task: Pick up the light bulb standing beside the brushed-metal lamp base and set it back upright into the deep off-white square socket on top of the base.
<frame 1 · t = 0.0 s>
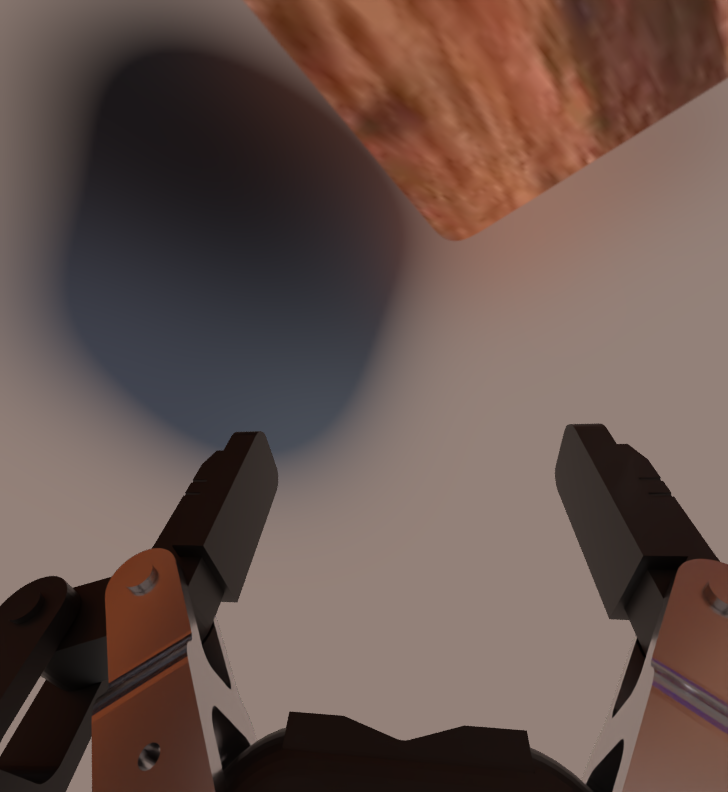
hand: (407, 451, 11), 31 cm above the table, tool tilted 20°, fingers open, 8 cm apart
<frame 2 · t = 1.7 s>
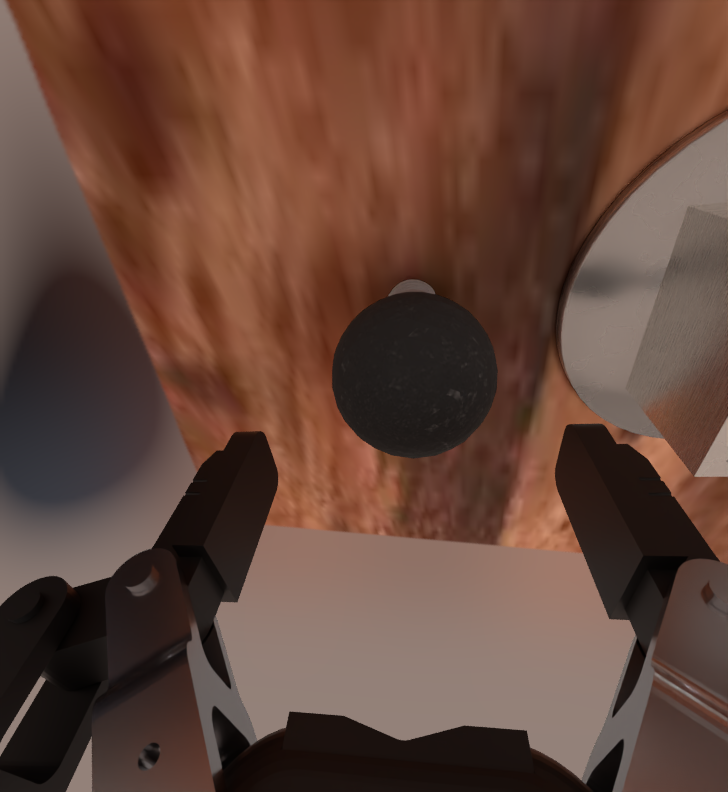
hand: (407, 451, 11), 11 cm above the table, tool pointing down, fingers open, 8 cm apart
light bulb: (412, 295, 19), on the table
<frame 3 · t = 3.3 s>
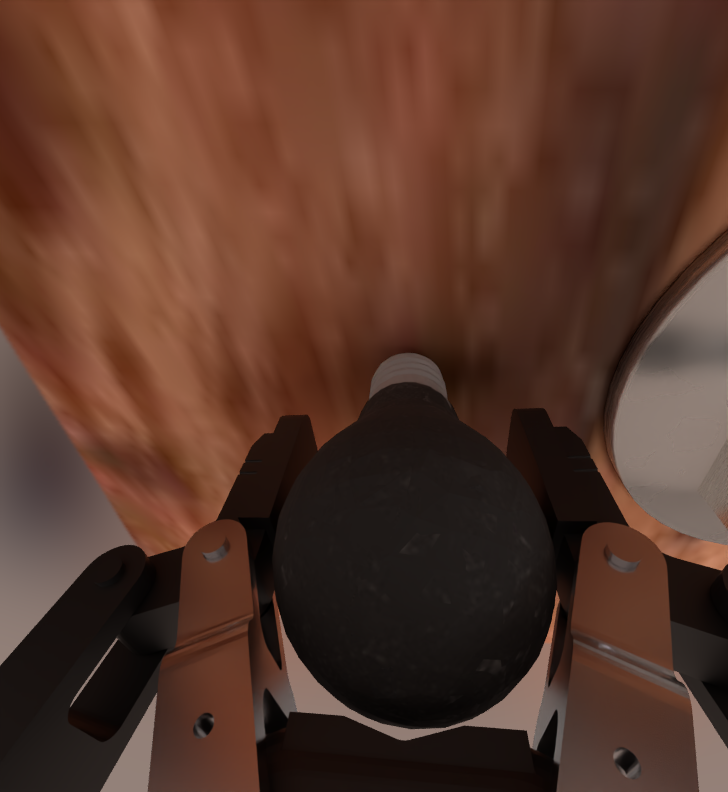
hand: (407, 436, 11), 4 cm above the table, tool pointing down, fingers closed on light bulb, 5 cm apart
light bulb: (407, 368, 14), on the table, touching gripper
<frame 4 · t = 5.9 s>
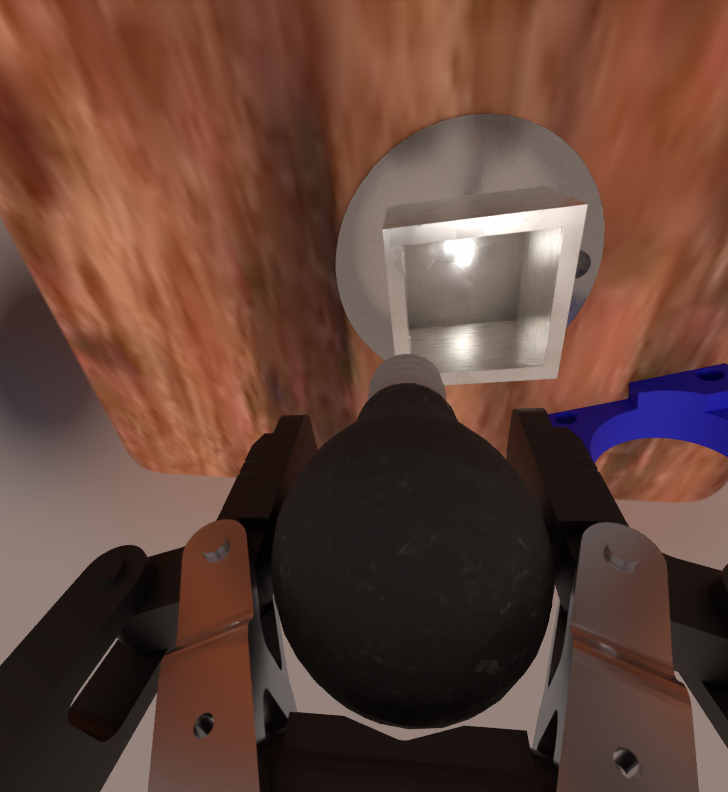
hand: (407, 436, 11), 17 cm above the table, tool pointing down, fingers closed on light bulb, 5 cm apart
cable clip: (626, 403, 30), on the table
light bulb: (406, 369, 14), point 13 cm above the table, touching gripper
lamp base: (461, 268, 25), on the table
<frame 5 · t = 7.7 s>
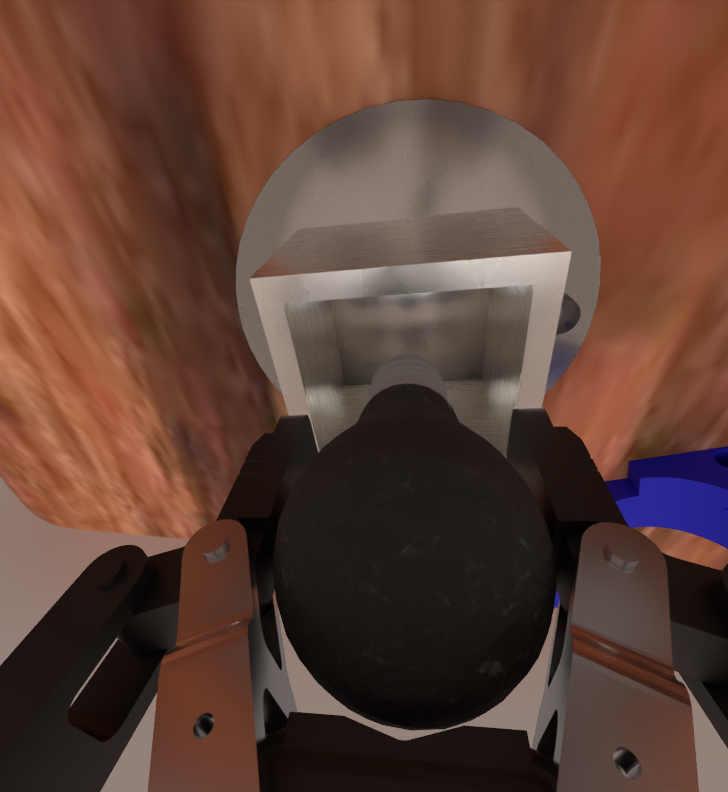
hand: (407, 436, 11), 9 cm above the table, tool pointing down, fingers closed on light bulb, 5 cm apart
cable clip: (625, 482, 24), on the table
light bulb: (407, 369, 14), point 5 cm above the table, touching gripper
lamp base: (408, 310, 18), on the table
when the fingers open (8 cm above the table, at t = 8.8 s): light bulb drops 4 cm, resting on lamp base.
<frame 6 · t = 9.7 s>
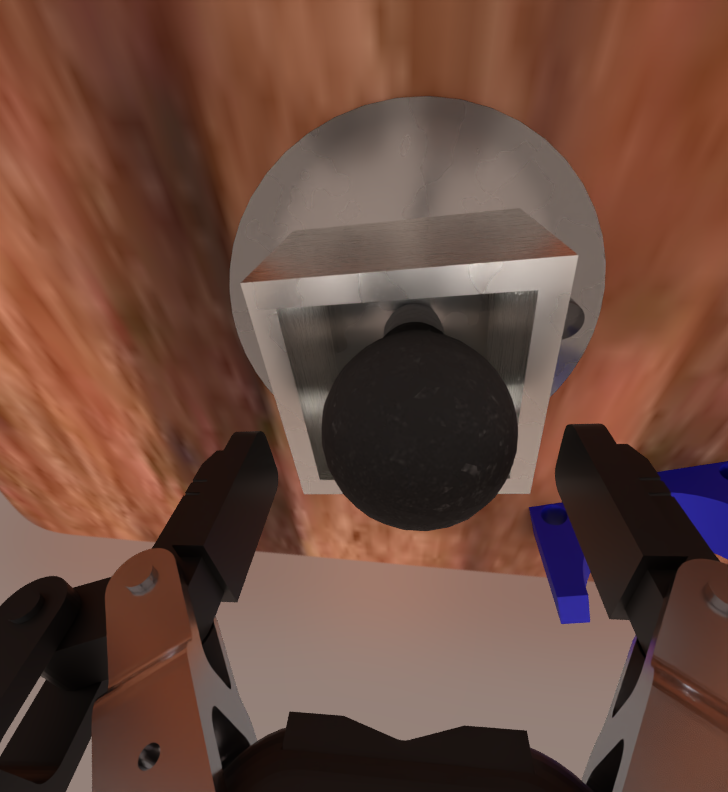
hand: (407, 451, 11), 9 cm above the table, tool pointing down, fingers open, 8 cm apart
cable clip: (629, 495, 24), on the table
light bulb: (413, 319, 17), point 1 cm above the table, touching lamp base
lamp base: (407, 314, 18), on the table
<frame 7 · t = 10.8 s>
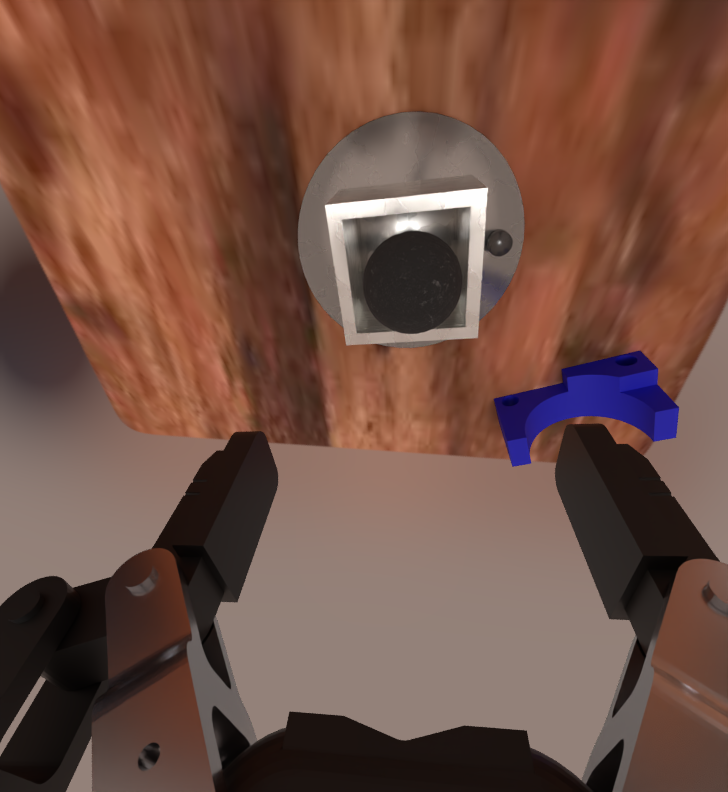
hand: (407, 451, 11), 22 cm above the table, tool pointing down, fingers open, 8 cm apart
cable clip: (562, 387, 35), on the table
light bulb: (411, 247, 28), point 1 cm above the table, touching lamp base
lamp base: (407, 245, 29), on the table
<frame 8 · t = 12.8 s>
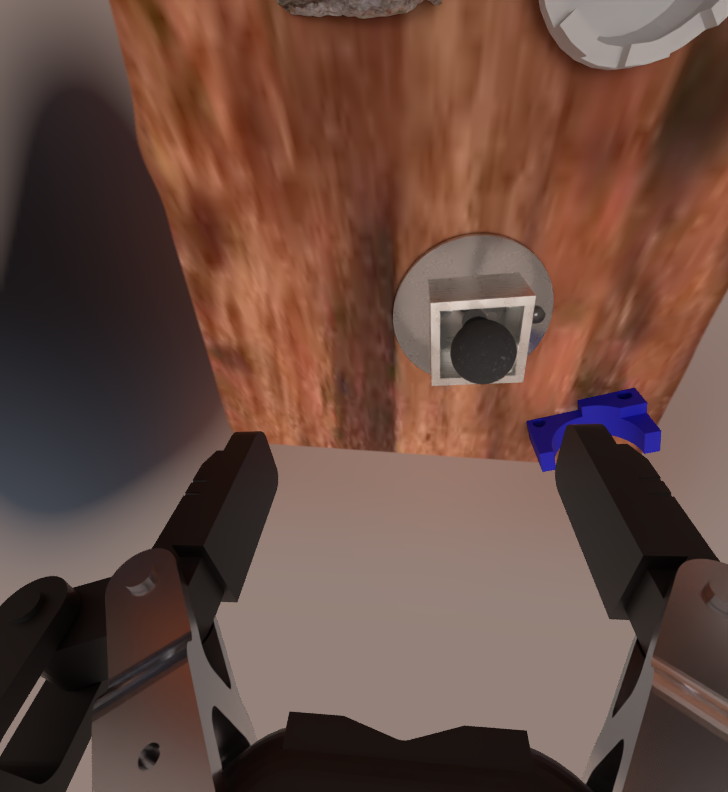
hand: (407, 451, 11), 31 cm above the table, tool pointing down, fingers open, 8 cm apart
cable clip: (577, 412, 47), on the table
light bulb: (473, 315, 40), point 1 cm above the table, touching lamp base
lamp base: (469, 313, 41), on the table
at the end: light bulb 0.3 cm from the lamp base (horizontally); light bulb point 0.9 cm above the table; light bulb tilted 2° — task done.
